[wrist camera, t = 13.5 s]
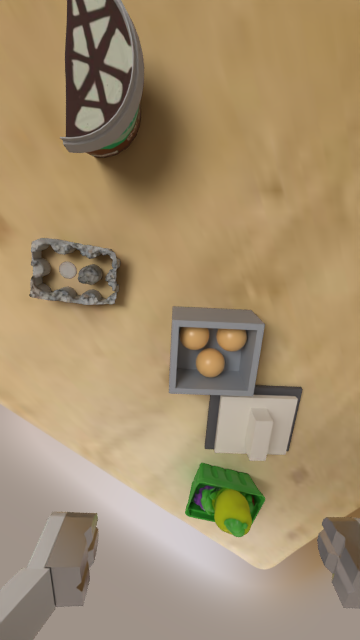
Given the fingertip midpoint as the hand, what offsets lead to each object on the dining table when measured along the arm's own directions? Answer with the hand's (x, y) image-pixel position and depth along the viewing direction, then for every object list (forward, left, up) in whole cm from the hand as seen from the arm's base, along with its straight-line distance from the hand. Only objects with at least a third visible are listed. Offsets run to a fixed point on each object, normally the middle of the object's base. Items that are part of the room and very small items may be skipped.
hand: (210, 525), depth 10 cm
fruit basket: (-8, +30, -29) cm, 43 cm away
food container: (+8, -22, -29) cm, 38 cm away
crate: (-4, +5, -29) cm, 30 cm away
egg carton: (+14, -4, -30) cm, 33 cm away
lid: (-12, +18, -28) cm, 35 cm away
